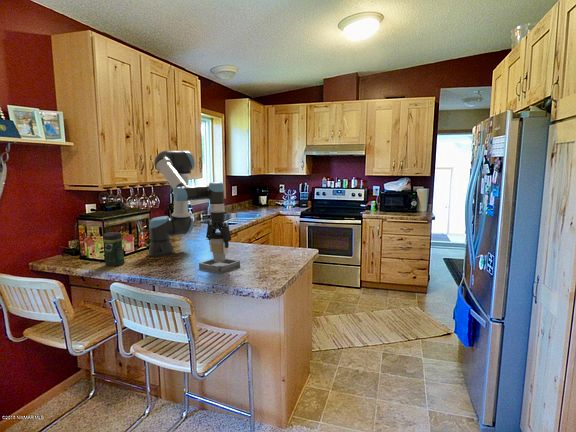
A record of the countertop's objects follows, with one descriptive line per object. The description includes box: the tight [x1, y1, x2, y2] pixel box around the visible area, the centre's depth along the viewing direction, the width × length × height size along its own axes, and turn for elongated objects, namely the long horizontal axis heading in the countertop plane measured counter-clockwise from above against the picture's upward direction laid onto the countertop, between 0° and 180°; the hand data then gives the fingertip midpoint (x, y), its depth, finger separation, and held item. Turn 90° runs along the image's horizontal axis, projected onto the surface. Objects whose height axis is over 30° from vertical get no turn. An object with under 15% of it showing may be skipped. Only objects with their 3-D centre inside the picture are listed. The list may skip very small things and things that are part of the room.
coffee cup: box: [210, 231, 227, 262], centre depth 186 cm, size 9×9×15 cm
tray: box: [198, 257, 241, 274], centre depth 187 cm, size 16×15×3 cm
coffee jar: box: [102, 231, 125, 267], centre depth 194 cm, size 10×8×19 cm
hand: (219, 252), depth 186 cm, fingers closed on coffee cup, 9 cm apart
